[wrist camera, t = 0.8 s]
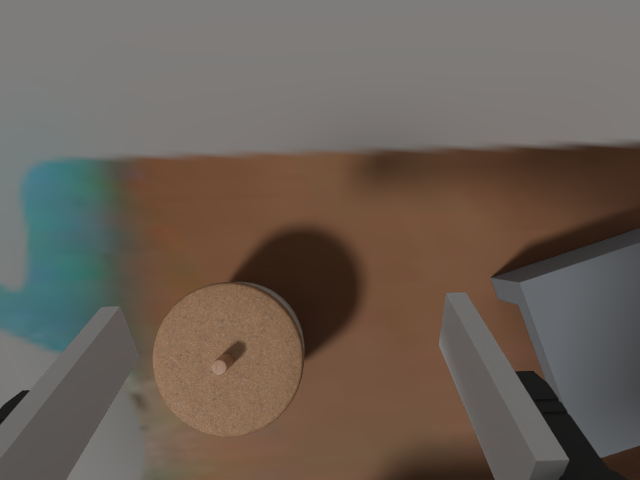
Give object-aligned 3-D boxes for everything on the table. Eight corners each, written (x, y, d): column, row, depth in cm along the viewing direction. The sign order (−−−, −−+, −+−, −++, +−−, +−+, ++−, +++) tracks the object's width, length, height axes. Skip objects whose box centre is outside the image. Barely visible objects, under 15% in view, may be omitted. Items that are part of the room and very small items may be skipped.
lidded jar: (314, 279, 33) (307, 291, 23) (306, 398, 32) (294, 458, 23) (199, 271, 33) (145, 278, 24) (189, 388, 33) (131, 443, 23)
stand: (700, 379, 31) (770, 404, 26) (544, 429, 31) (584, 463, 26) (642, 227, 32) (699, 222, 27) (490, 277, 32) (519, 282, 27)
